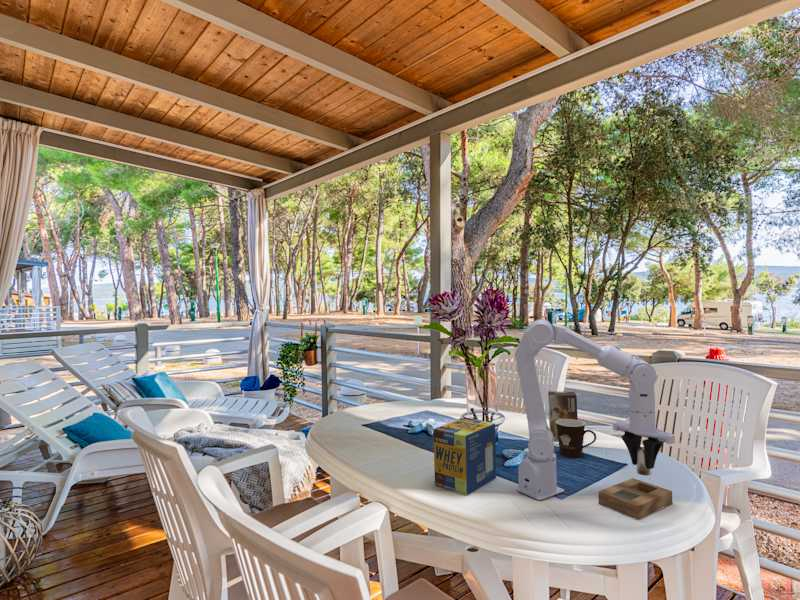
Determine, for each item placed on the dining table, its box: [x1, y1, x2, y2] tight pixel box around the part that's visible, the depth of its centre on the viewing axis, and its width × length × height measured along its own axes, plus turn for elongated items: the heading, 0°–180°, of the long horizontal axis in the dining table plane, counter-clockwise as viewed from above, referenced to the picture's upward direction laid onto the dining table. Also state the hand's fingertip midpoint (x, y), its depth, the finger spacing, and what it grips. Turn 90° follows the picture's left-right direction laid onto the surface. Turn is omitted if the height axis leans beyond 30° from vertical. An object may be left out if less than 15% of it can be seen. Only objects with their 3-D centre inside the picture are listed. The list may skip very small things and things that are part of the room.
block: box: [597, 477, 673, 520], centre depth 115 cm, size 14×10×3 cm
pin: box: [636, 446, 652, 476], centre depth 117 cm, size 3×3×6 cm
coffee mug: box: [556, 419, 597, 459], centre depth 149 cm, size 12×9×10 cm
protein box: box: [433, 417, 497, 496], centre depth 131 cm, size 10×15×16 cm
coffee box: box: [547, 390, 579, 442], centre depth 166 cm, size 9×6×16 cm
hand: (643, 465), depth 117 cm, fingers closed on pin, 3 cm apart
